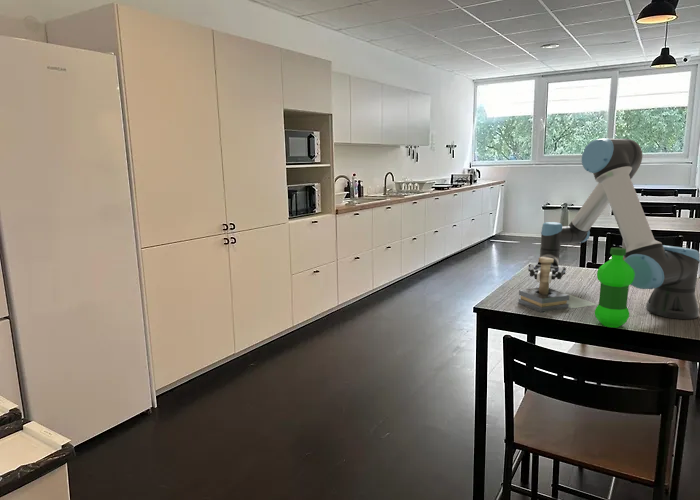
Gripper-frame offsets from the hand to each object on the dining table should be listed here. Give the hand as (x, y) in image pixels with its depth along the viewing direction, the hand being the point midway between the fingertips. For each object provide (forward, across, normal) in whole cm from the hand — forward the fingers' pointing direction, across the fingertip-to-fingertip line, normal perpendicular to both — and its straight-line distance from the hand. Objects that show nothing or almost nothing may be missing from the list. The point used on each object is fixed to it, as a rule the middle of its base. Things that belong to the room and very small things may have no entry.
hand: (543, 278), depth 169 cm
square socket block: (-5, 0, -11) cm, 13 cm away
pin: (-5, 0, -9) cm, 11 cm away
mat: (-15, -9, -11) cm, 21 cm away
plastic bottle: (+7, -21, -12) cm, 25 cm away
